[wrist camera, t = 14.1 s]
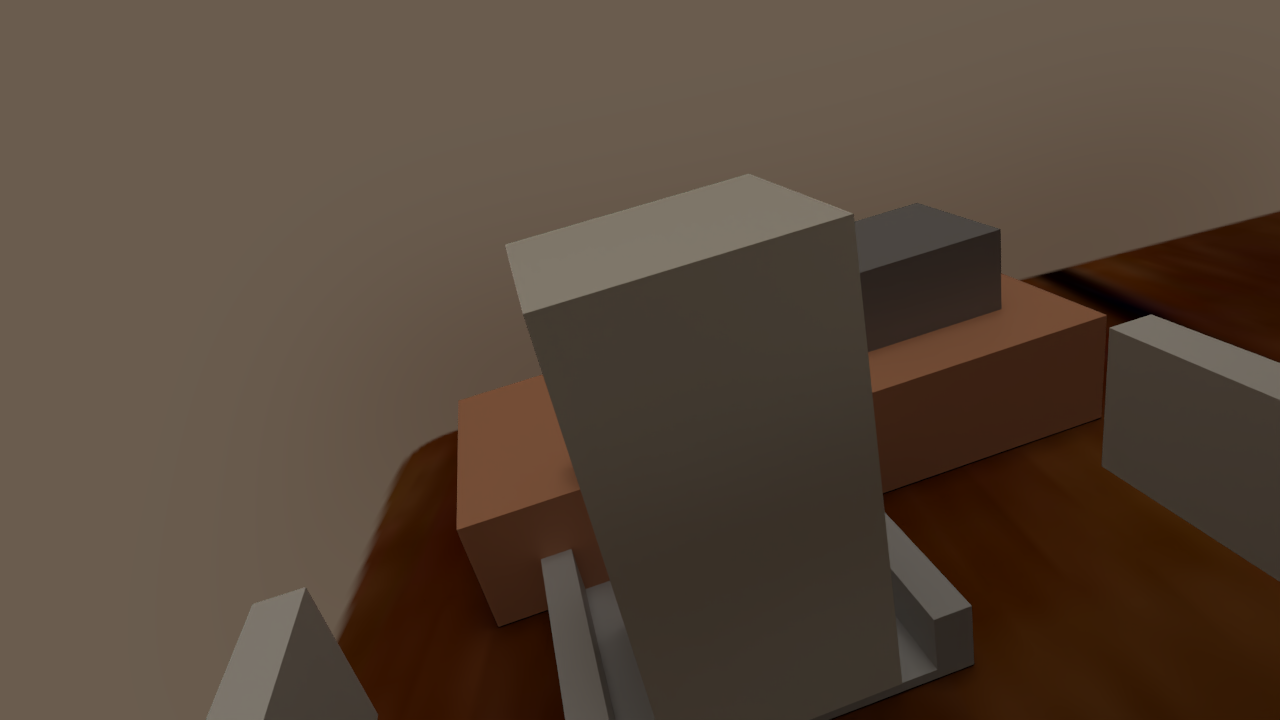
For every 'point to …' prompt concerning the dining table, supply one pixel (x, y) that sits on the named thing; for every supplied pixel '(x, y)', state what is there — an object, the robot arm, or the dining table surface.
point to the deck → (906, 436)
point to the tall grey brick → (724, 443)
